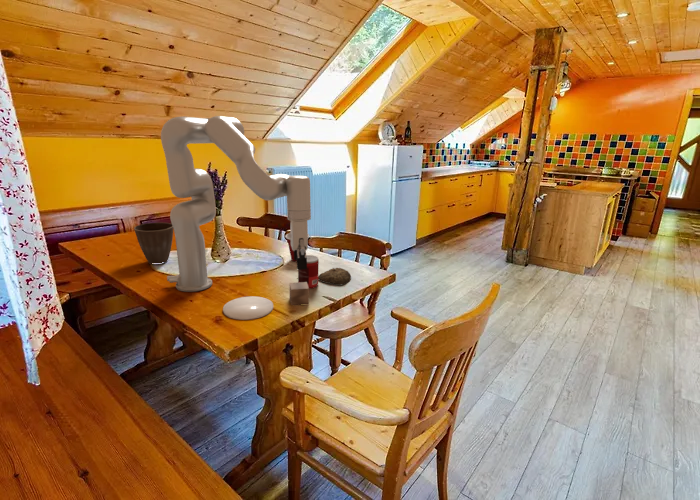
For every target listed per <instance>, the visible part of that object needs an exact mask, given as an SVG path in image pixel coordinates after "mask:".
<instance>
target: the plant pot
mask: <svg viewBox="0 0 700 500" xmlns="http://www.w3.org/2000/svg"><path fill="white" fill-rule="evenodd" d="M133 230H134V232H135V235H136V238H137V242H138V245H139V247H140V250H141V251H142V253H143V256H144V257H145V259H146V261H147V262H148V264H150V265H153V264H152V263H162V262H166V261H167V260H168V261H169V258H170V254H171V250H172V247H173V246H172V244H173V238H174V229H173V226H172V223H171V222H170V223H169V222H147V223H143V224H142V223H141V224H138V225H136V226H134V228H133ZM168 261H167V262H168ZM167 262H166V263H167Z"/></svg>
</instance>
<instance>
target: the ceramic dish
mask: <svg viewBox="0 0 700 500" xmlns="http://www.w3.org/2000/svg"><path fill="white" fill-rule="evenodd" d="M273 309H274V303H273V301H272V300H270V299H268V298H265V297H262V296H252V295H251V296H241V297H237V298H235V299H232V300H230V301H228V302H226V303H225V304H224V305H223V308H222V313H223V315H225V316H226V317H228V318H230V319H233V320H240V321H242V320H243V321H249V320H257V319H259V318H262V317H265V316H267V315H269V314H270V313H271V312H273Z"/></svg>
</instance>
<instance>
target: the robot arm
mask: <svg viewBox="0 0 700 500" xmlns="http://www.w3.org/2000/svg"><path fill="white" fill-rule="evenodd" d="M160 140H161V145H162V150H163V152H164V156H165V161H166V168H167V169H166V170H167V175H168V181H169V182H168V183H169V187H170V191H171V193H172V194H173V196H175V197H176V198H179V199H185V198H190V200H186V201H182V202H178V203H177V204H176V205H174V206H173V207H172V208H171V210H170V214H169V216H170V217H169V219H170V224H172V226H173V234H174V237H175V245H176V246H175V247H176V254H177V264H178V274H176V275H167V276H166V280H167V282H169V284H170V283H175V289H177V290H178V291H180V292H184V293H185V292H187V293H188V292H189V293H194V292H199V291H203V290H207V289H209V288H210V287H211V286H212V285H213V280H212V279H211V278H210V277H208V268H207V256H206V254H207V253H206V244H205V236H204V234H203V232H202V230H201V228H200V226H202V225H206V224H208V223H211V222H212V221H213V220H214V218H215V217H216V214H217V213H216V212H217V210H216V208H217V207H216V199H215V192H214V191H215V190H214V183H213V180H212V178H211V176H210V174H209V172H207V171H206V170H204V169H202V168H195V164H194V157H193V155H192V152H191V151H190V149H189V147H188V146H187V145H191V144H214V145H215V146H216V147H217V148H218V149H220V150H221V152H222V153H223V154H225V156H227V158H228V159H230V161H231V162H233V164H234V165H235V166H236V170H237V172H238V174H239V178H240V179H241V180H242V182H243V183H244V184H245V185H246V186H247V187H248V188H249V189H250V191H252V193H254V194H255V196H257V197H259V198H260V199H262V200H264V201H273V200H277V199H280V198H283V197H286V210H287V211H286V212H287V213H286V215H287V220H288V221H289V222H290V229H289V230H290V232H289V233H291V247H292V250H293V251H294V260H297V262H296V270H297V271H298V270H302V269H307V257H306V255H307V250H308V248H309V247H308V245H309V243H308V241H309V238H308V234H309V233H308V232H309V228H308V226H309V225H308V221H310V220H311V218H312V217H311V216H312V215H311V214H312V212H311V210H312V209H311V207H312V206H311V203H312V202H311V179H310V177H308V176H306V175H290V174H284V173H276V174H271V175H269V174H268V173H267V172H265V171H264V169H263V168H262V167H261V166H259V164H258V163H257V162H256V160H255V152H256V147H255V145H254V144H253V143H252V142H251V141H250V140H249V139H248V138H246V136H245V127H244V125H243V123H242V122H241V121H240V120H239V119H237V118H236V117H234V116H233V117H232V116H224V115H215V116H212V117H196V116H195V117H194V116H182V115H181V116H176V117H172V118H170V119H168V120H166V122H165V123H164V124H163V126H162V129H161V131H160Z"/></svg>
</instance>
